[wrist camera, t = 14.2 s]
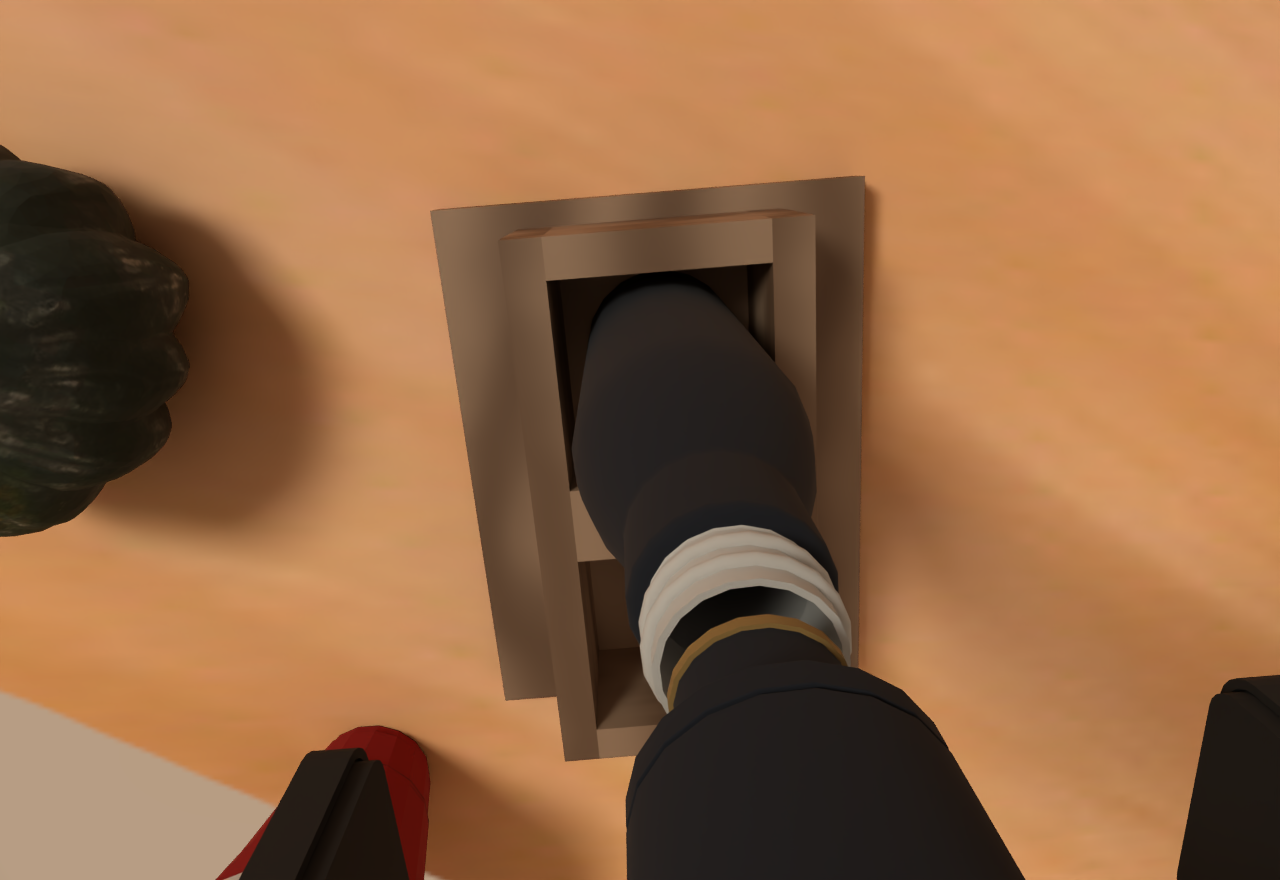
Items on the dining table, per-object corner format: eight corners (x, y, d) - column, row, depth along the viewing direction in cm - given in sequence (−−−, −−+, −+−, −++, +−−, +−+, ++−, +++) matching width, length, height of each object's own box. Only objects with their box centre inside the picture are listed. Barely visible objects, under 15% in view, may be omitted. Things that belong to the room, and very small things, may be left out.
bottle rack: (853, 176, 34) (917, 176, 27) (849, 653, 42) (897, 752, 35) (438, 209, 34) (391, 218, 27) (509, 681, 42) (487, 786, 35)
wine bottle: (740, 272, 34) (1389, 774, 6) (729, 416, 36) (1160, 1328, 8) (589, 266, 34) (456, 764, 5) (587, 411, 36) (477, 1341, 7)
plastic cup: (243, 802, 44) (113, 1022, 33) (322, 654, 41) (210, 838, 30) (423, 875, 46) (359, 1106, 35) (509, 739, 43) (471, 941, 32)
